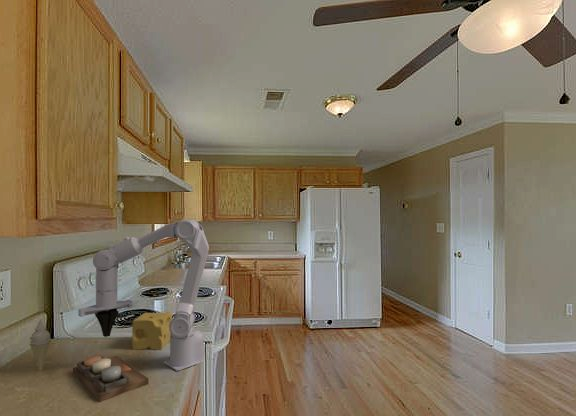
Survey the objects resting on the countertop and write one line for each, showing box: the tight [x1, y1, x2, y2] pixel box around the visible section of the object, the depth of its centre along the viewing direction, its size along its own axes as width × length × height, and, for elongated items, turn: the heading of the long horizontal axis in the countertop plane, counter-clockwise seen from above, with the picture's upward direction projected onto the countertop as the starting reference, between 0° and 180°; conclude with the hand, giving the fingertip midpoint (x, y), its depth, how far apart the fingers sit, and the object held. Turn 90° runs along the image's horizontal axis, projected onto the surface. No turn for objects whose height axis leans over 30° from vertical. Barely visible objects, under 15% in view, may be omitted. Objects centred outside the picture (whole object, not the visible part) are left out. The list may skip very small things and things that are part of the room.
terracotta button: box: [83, 355, 103, 368], centre depth 101 cm, size 4×4×2 cm
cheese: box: [131, 311, 173, 351], centre depth 124 cm, size 10×11×10 cm
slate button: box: [102, 366, 121, 381], centre depth 92 cm, size 4×4×2 cm
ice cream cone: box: [29, 318, 52, 372], centre depth 103 cm, size 5×5×15 cm
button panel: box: [72, 355, 149, 402], centre depth 98 cm, size 12×22×3 cm, turn 46°
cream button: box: [92, 358, 111, 373], centre depth 97 cm, size 4×4×2 cm
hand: (106, 335), depth 105 cm, fingers closed
